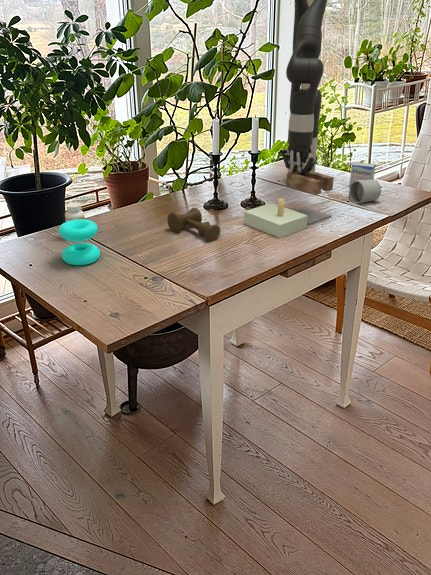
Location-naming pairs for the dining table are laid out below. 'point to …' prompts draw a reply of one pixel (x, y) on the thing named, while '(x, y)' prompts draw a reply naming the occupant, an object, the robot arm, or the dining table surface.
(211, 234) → the brown dog bone
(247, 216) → the stand
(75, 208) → the supplement bottle
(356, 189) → the ceramic mug
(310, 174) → the c link
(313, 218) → the coaster
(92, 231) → the donuts
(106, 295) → the dining table surface
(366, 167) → the medicine box
